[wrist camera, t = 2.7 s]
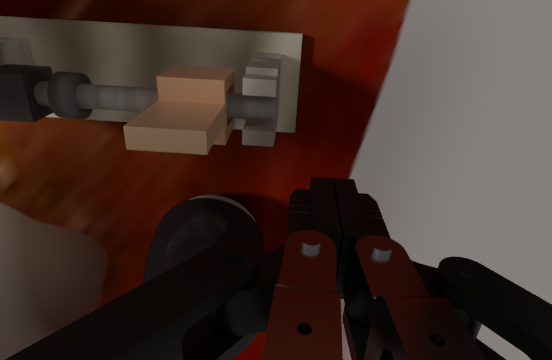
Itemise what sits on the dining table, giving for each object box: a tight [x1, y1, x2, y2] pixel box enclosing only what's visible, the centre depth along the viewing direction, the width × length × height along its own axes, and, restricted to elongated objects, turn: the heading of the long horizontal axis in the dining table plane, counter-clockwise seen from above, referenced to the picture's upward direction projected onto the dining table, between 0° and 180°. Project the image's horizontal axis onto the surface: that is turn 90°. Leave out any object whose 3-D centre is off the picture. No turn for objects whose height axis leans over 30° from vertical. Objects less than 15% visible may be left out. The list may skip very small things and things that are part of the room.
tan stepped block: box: [123, 65, 235, 155], centre depth 22 cm, size 4×4×9 cm
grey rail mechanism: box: [0, 16, 303, 147], centre depth 27 cm, size 26×8×10 cm, turn 87°
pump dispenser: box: [142, 195, 265, 284], centre depth 31 cm, size 10×10×15 cm
